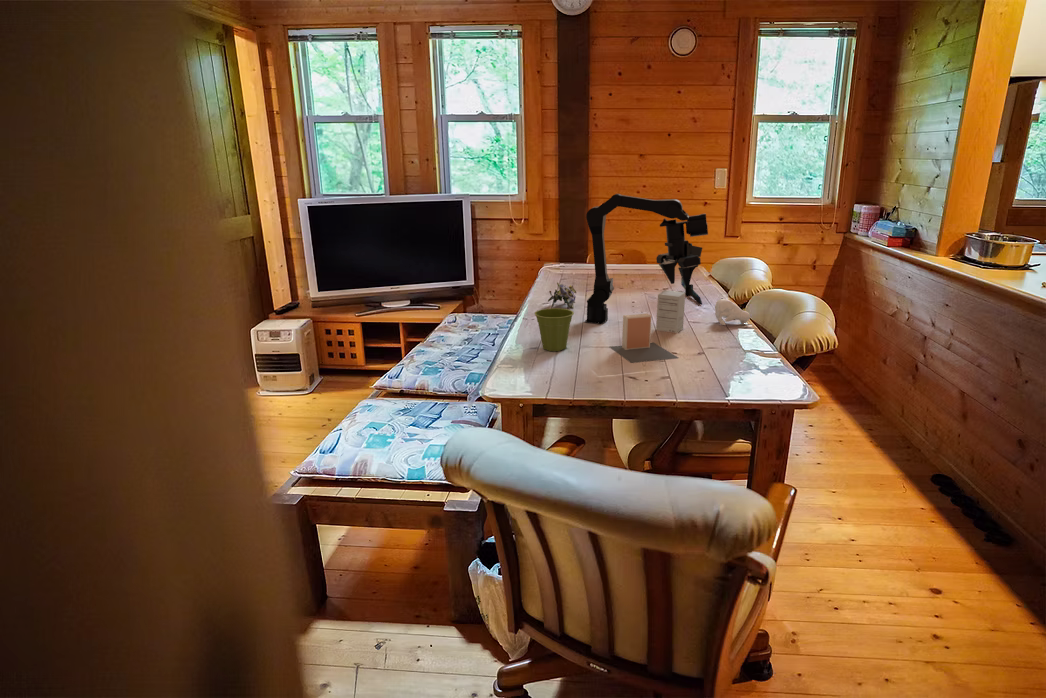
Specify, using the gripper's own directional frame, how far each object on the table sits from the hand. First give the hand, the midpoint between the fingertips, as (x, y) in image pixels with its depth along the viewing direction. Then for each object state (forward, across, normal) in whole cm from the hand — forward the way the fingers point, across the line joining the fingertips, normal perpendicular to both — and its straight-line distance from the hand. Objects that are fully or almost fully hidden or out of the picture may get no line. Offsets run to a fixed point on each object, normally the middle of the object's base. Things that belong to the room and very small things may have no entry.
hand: (679, 285), depth 205 cm
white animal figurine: (+17, -2, -18) cm, 25 cm away
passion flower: (+8, +40, +29) cm, 50 cm away
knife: (+15, +39, -26) cm, 49 cm away
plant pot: (+9, -9, +50) cm, 51 cm away
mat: (+13, -22, +26) cm, 37 cm away
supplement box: (+14, -2, +6) cm, 16 cm away
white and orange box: (+12, -17, +26) cm, 34 cm away
